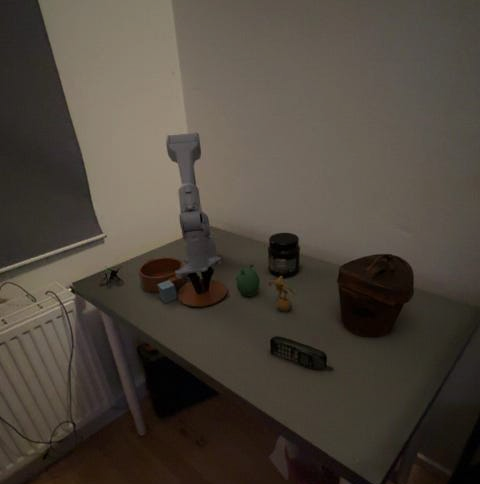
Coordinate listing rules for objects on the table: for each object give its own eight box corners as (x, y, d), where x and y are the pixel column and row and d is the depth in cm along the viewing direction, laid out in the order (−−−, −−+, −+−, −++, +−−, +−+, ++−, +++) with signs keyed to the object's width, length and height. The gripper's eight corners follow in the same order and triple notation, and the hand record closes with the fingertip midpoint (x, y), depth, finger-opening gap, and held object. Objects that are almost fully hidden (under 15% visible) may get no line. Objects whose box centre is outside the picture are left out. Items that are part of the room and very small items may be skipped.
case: (397, 303, 99) (409, 244, 89) (411, 349, 82) (428, 284, 72) (332, 299, 102) (337, 243, 92) (333, 343, 86) (340, 280, 76)
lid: (211, 277, 118) (209, 264, 115) (236, 296, 107) (235, 281, 104) (169, 293, 111) (167, 279, 108) (192, 314, 100) (190, 300, 97)
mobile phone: (268, 340, 81) (330, 359, 74) (274, 332, 83) (335, 350, 76) (269, 356, 84) (329, 376, 77) (274, 348, 86) (334, 367, 79)
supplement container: (290, 261, 124) (290, 229, 118) (305, 274, 116) (306, 240, 109) (263, 267, 121) (262, 235, 115) (276, 281, 113) (276, 247, 106)
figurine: (300, 311, 98) (302, 273, 92) (289, 321, 94) (290, 283, 88) (276, 302, 103) (275, 266, 96) (264, 312, 99) (263, 275, 92)
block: (171, 293, 111) (169, 280, 108) (177, 298, 108) (174, 285, 105) (160, 298, 109) (157, 284, 106) (165, 303, 106) (162, 289, 103)
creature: (121, 290, 117) (128, 274, 122) (115, 278, 113) (123, 262, 118) (98, 290, 117) (106, 274, 123) (92, 279, 114) (101, 263, 119)
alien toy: (246, 285, 112) (245, 257, 107) (264, 293, 107) (263, 264, 102) (231, 294, 108) (228, 265, 103) (249, 303, 103) (247, 273, 98)
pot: (170, 264, 128) (168, 251, 125) (196, 285, 114) (194, 270, 111) (133, 277, 121) (129, 263, 118) (155, 301, 107) (152, 286, 104)
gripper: (180, 263, 95) (187, 304, 102) (224, 248, 101) (228, 287, 109) (169, 255, 100) (176, 294, 107) (212, 240, 106) (216, 279, 114)
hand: (202, 290), depth 108 cm, fingers closed on lid, 2 cm apart
